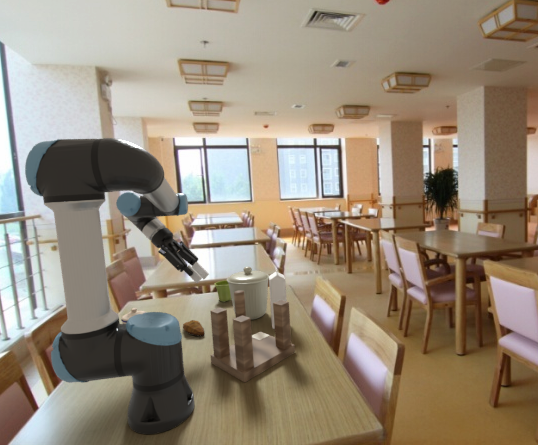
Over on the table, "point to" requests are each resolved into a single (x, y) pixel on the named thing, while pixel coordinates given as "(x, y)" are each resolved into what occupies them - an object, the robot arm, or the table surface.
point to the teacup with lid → (130, 314)
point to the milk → (276, 290)
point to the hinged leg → (239, 303)
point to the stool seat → (250, 343)
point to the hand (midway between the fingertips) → (203, 278)
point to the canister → (251, 290)
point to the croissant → (194, 328)
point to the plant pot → (223, 291)
